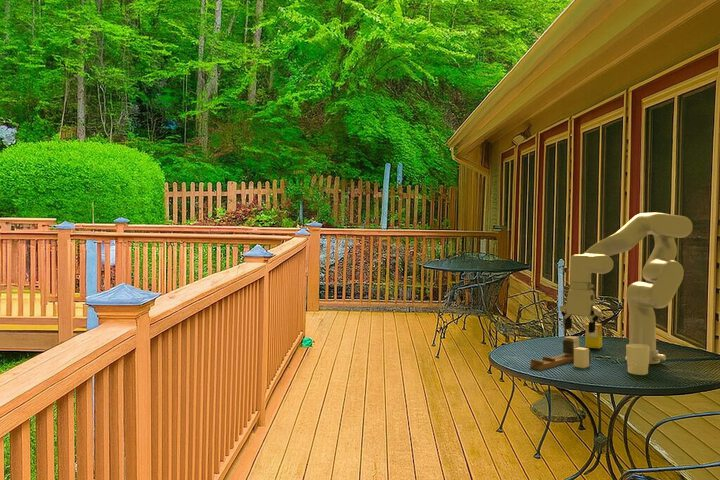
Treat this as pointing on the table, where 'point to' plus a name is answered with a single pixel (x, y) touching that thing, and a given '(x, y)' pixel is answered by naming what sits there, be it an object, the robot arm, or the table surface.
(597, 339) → the supplement box
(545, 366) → the rail
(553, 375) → the table surface
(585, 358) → the cream brown block
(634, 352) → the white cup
